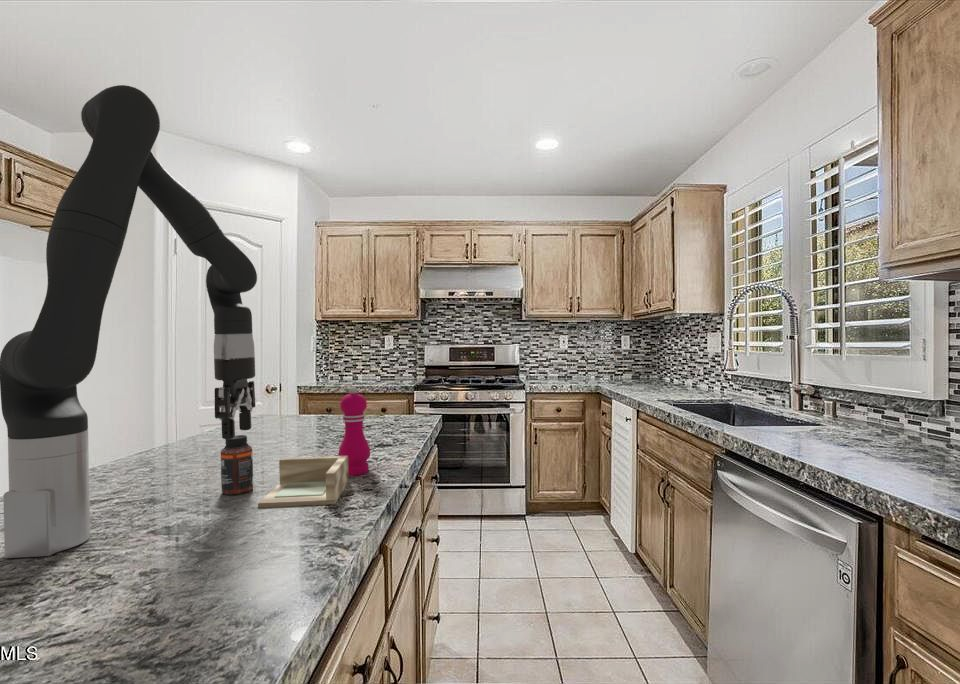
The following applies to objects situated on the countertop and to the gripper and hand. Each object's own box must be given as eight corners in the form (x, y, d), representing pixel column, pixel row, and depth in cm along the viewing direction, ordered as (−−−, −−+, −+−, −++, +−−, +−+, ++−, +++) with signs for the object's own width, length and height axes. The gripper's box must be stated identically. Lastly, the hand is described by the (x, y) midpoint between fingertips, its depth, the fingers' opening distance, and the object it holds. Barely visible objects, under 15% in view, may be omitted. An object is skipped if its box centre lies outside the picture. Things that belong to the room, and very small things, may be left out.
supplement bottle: (259, 487, 102) (258, 433, 102) (242, 496, 96) (241, 439, 96) (232, 486, 103) (231, 433, 103) (214, 495, 97) (213, 439, 97)
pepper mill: (336, 470, 114) (334, 386, 114) (367, 466, 117) (365, 384, 117) (341, 478, 108) (339, 389, 108) (373, 473, 111) (372, 387, 111)
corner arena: (334, 503, 91) (334, 473, 91) (258, 507, 89) (257, 476, 89) (348, 482, 105) (348, 455, 105) (282, 485, 103) (281, 458, 103)
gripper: (230, 355, 106) (233, 428, 107) (198, 358, 92) (201, 442, 92) (265, 354, 107) (268, 426, 107) (239, 357, 93) (242, 440, 93)
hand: (237, 434), depth 100 cm, fingers open, 8 cm apart
